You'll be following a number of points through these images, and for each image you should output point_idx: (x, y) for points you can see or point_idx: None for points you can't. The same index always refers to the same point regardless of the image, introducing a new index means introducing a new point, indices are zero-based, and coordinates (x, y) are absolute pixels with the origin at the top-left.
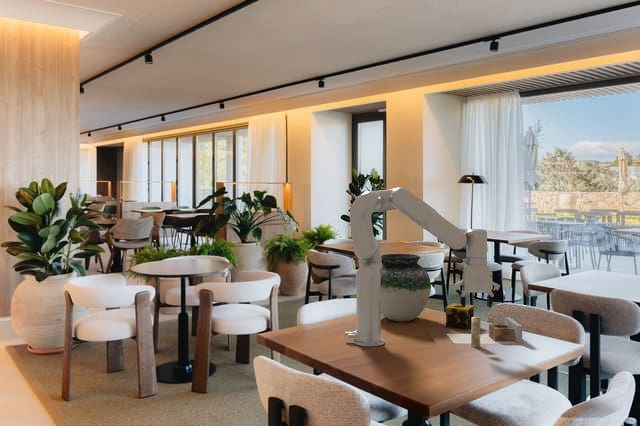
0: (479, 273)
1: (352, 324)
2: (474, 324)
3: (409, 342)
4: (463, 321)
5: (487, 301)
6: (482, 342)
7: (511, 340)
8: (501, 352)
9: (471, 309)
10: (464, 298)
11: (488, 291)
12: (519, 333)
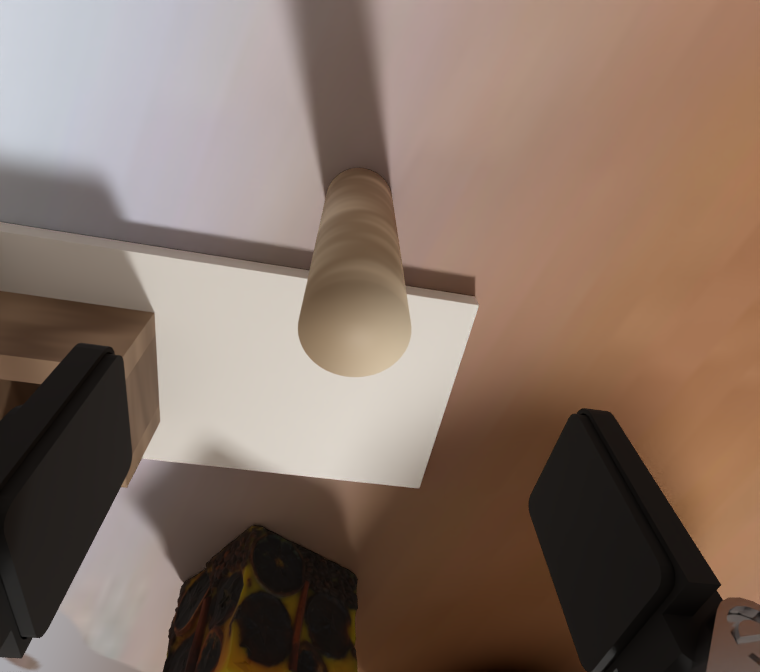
0: None
1: None
2: (391, 261)
3: (710, 401)
4: (267, 590)
5: (93, 507)
6: (260, 297)
7: (14, 297)
8: (176, 76)
9: None
10: (687, 549)
11: None
12: None
